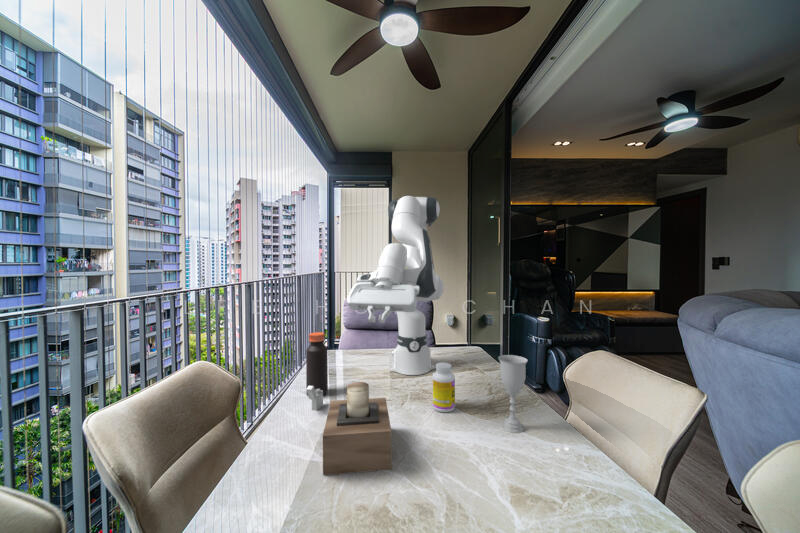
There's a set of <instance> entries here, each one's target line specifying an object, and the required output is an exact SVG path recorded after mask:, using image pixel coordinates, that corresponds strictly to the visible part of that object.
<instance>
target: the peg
mask: <svg viewBox="0 0 800 533" xmlns="http://www.w3.org/2000/svg"><path fill="white" fill-rule="evenodd" d="M369 399H370V386H369V383H367V382H365V381H364V382H363V381H355V382H351V383H349V384H347V386H346V400H347V418H360V417H369Z"/></svg>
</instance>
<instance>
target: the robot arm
mask: <svg viewBox="0 0 800 533" xmlns="http://www.w3.org/2000/svg"><path fill="white" fill-rule="evenodd" d="M440 212H441V210H440V204H439V202H438V199H437V198H436V197H433V196H427V197H426V196H412V195H405V196H402V197H401V198H399V199H398V198H397V199H395V198H394V199H393V200H391V201H390V202H389V203H388V206H387V214H388V215H387V216H388V219H389V221H390V222H391V233H392V236H393V238H395V239H396V240H397V241H398V242H399V243H398V242H393V243H388V244H386V245H385V247H384V248H383V250H382V252H381V254H380V257H379V259H378V263H377V268H376V269H375V270H373V271H371V272H368V273H364V274H361V275H358V276H357V277H356V278H357V279H356V282H357V283H355V284H354V285H353V286H352V287H351V289H350V291H349V293H348V296H347V299H346V303H347V306H348V307H349V308H350V310H352V311H367V312H368V314H369V315H368V318H367V320H368V323H376V320H377V321H378V323H379V324H385V322H386V320H387V318H388V317H389V316H390V315H391V314H392V312H396V316H397V317H396V318H397V323H398V324H397V326H398V334H397V337H396V341H397V342H396V343H397V345H396V347H395V349H394V350H391V356H392V358H391V361H390V365H389V368H388V371H389V372H395V373H397V374H400V375H404V376H405V375H407V376H420V375H424V374H427V373H429V372H430V371H431V370H436V365H434V364H433V363H432V360H431V359H432V357H431V356H432V354H431V348H430V347H429V346H428V345H427V344H428V342H427V341H428V337H427V334H426V316H425V314H424V312H422V311H420V310H419V309H417V305H418V302H430V301H436V300H440V299H441V297H442V296H443V293H444V289H445V287H444V286H445V285H444V281H443V280H442V279H441V277H440V275H438V274H436V272H435V268H434V267H435V266H434V259H433V251H432V244H431V240H430V235H429V233H428V229H427V226H428V227H429V228H430V227H431V226H432V224H434V223H435V222H436V221H437V220H438V218H439V215H440ZM406 267H407V268H406ZM375 311H376V312H383V313H382V314H379V315H378V318H377V317H376V314H375Z"/></svg>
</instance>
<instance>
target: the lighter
mask: <svg viewBox="0 0 800 533" xmlns="http://www.w3.org/2000/svg"><path fill="white" fill-rule="evenodd" d="M305 390H306V394H307V393H308V396H307V397H308V399H309V400H311V411H313V412H314V411H315V412H317V411H318V410H319V409H320V408H321V407H322V406H324V396H323V390H320V389H316V390H315V389H314V386H308V387H307V389H305Z"/></svg>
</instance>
